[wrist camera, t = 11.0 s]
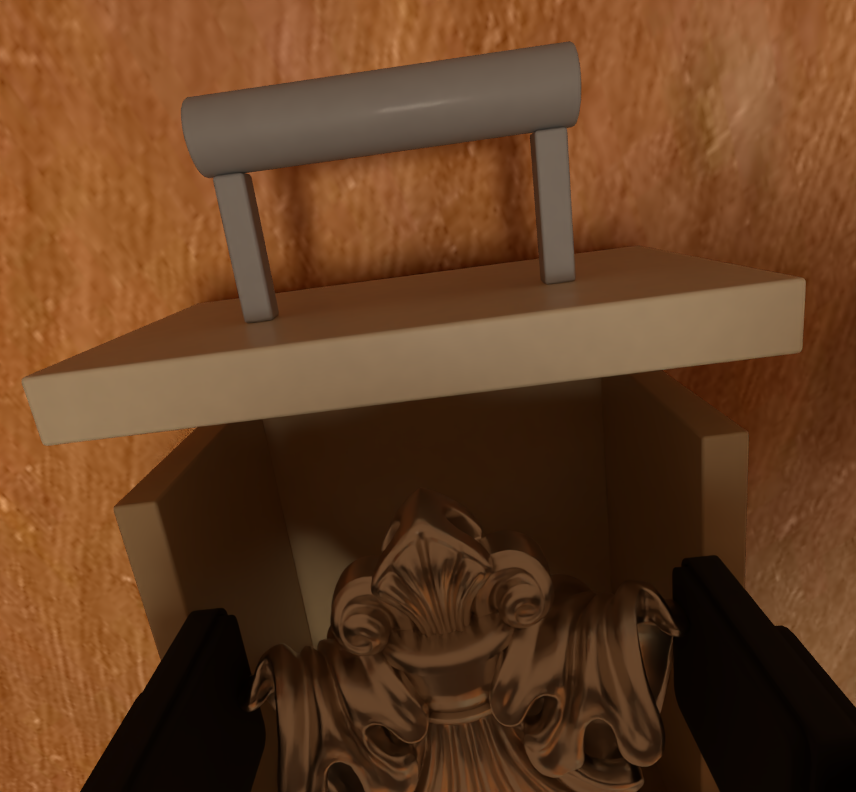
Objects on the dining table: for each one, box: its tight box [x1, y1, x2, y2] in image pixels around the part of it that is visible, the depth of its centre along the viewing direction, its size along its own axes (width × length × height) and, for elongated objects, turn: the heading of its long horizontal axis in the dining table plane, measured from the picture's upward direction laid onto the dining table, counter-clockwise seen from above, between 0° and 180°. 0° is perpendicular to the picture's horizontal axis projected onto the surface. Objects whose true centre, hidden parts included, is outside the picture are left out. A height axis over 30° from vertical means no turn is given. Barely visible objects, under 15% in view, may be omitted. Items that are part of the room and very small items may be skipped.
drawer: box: [22, 42, 806, 792], centre depth 15 cm, size 18×12×8 cm
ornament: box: [238, 488, 689, 792], centre depth 10 cm, size 8×7×4 cm
